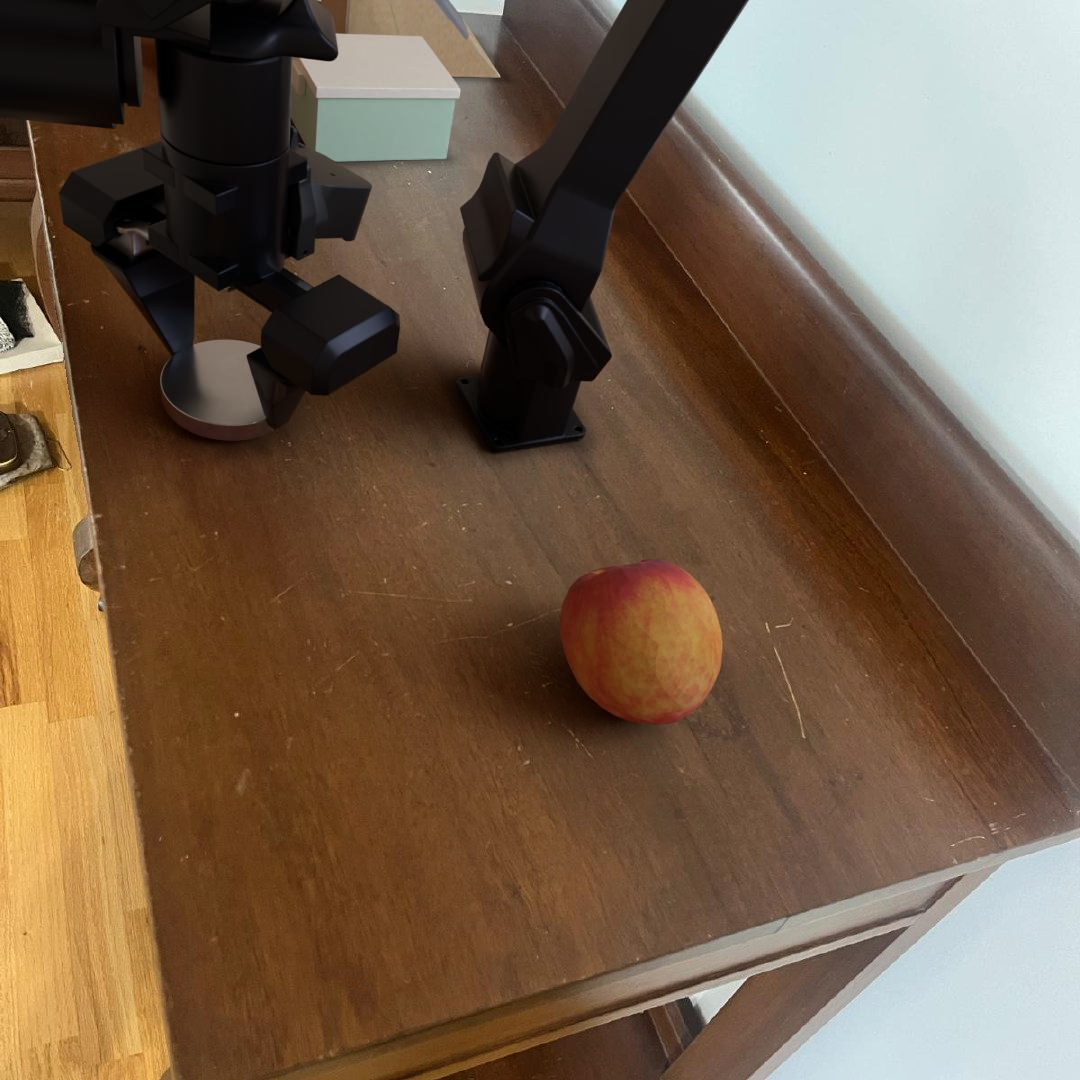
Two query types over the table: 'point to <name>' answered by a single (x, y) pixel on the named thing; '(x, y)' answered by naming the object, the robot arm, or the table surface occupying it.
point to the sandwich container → (417, 29)
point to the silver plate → (214, 391)
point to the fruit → (642, 640)
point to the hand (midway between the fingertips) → (230, 390)
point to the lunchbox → (375, 100)
